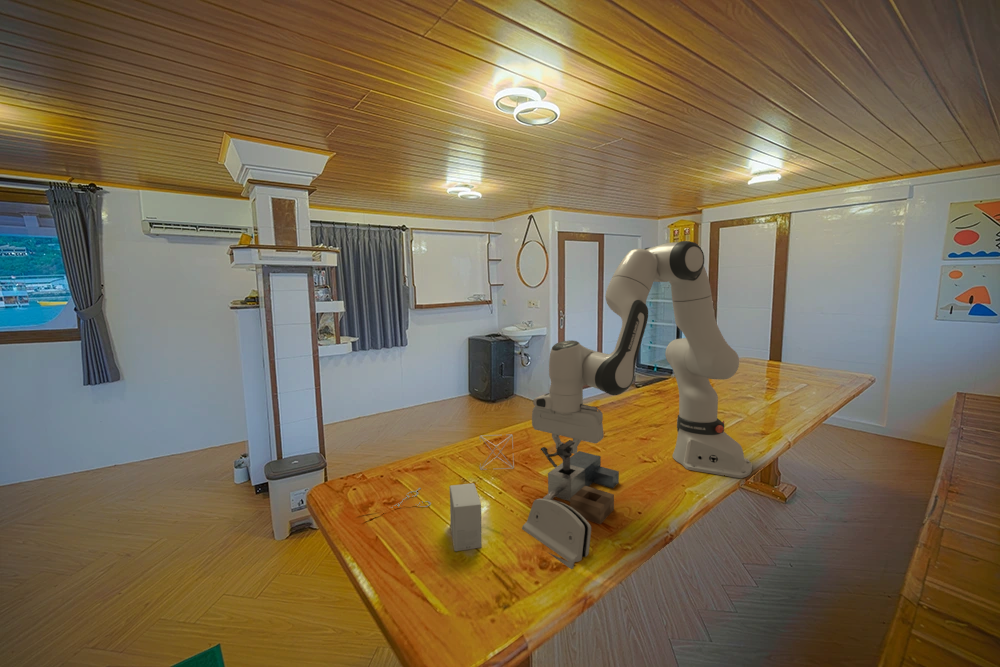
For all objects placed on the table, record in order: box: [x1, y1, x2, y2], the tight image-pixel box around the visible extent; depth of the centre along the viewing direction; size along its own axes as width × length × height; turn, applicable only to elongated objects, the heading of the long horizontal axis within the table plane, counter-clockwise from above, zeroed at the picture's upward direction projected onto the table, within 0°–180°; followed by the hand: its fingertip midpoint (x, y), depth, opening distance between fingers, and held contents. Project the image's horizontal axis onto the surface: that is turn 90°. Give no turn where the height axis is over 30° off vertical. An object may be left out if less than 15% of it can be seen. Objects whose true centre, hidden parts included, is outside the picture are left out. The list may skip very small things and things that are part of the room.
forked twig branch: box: [540, 446, 563, 469], centre depth 135 cm, size 24×10×2 cm, turn 12°
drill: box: [542, 450, 620, 502], centre depth 112 cm, size 25×13×7 cm, turn 142°
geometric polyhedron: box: [479, 434, 515, 471], centre depth 133 cm, size 12×11×9 cm
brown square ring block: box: [569, 486, 615, 525], centre depth 103 cm, size 8×8×5 cm
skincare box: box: [449, 482, 483, 552], centre depth 96 cm, size 10×6×10 cm, turn 12°
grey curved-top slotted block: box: [521, 498, 592, 570], centre depth 93 cm, size 17×5×10 cm, turn 38°
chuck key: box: [556, 439, 575, 475], centre depth 112 cm, size 3×7×11 cm, turn 142°
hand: (566, 451), depth 112 cm, fingers closed on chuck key, 3 cm apart
